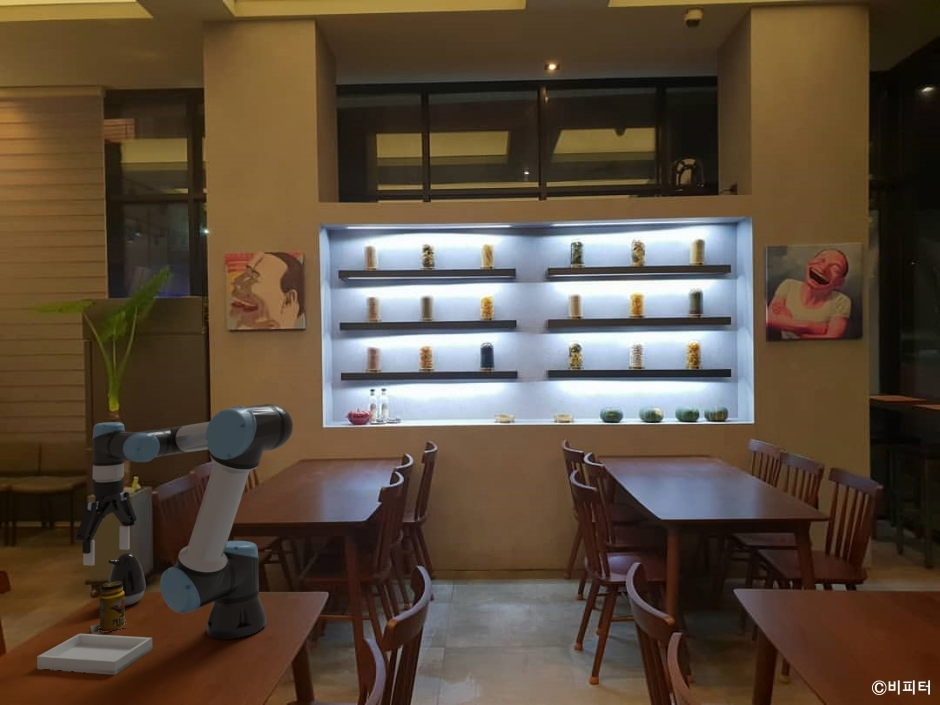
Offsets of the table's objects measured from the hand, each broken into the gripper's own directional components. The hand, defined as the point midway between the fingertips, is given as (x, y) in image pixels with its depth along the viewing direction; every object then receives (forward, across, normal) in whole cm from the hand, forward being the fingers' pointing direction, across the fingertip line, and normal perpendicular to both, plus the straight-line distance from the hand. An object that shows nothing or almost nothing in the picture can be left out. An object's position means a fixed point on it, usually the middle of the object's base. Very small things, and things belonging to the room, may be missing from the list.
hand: (107, 556), depth 177 cm
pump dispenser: (+20, -18, -8) cm, 28 cm away
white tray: (+19, +17, +11) cm, 28 cm away
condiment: (+20, -1, 0) cm, 20 cm away
